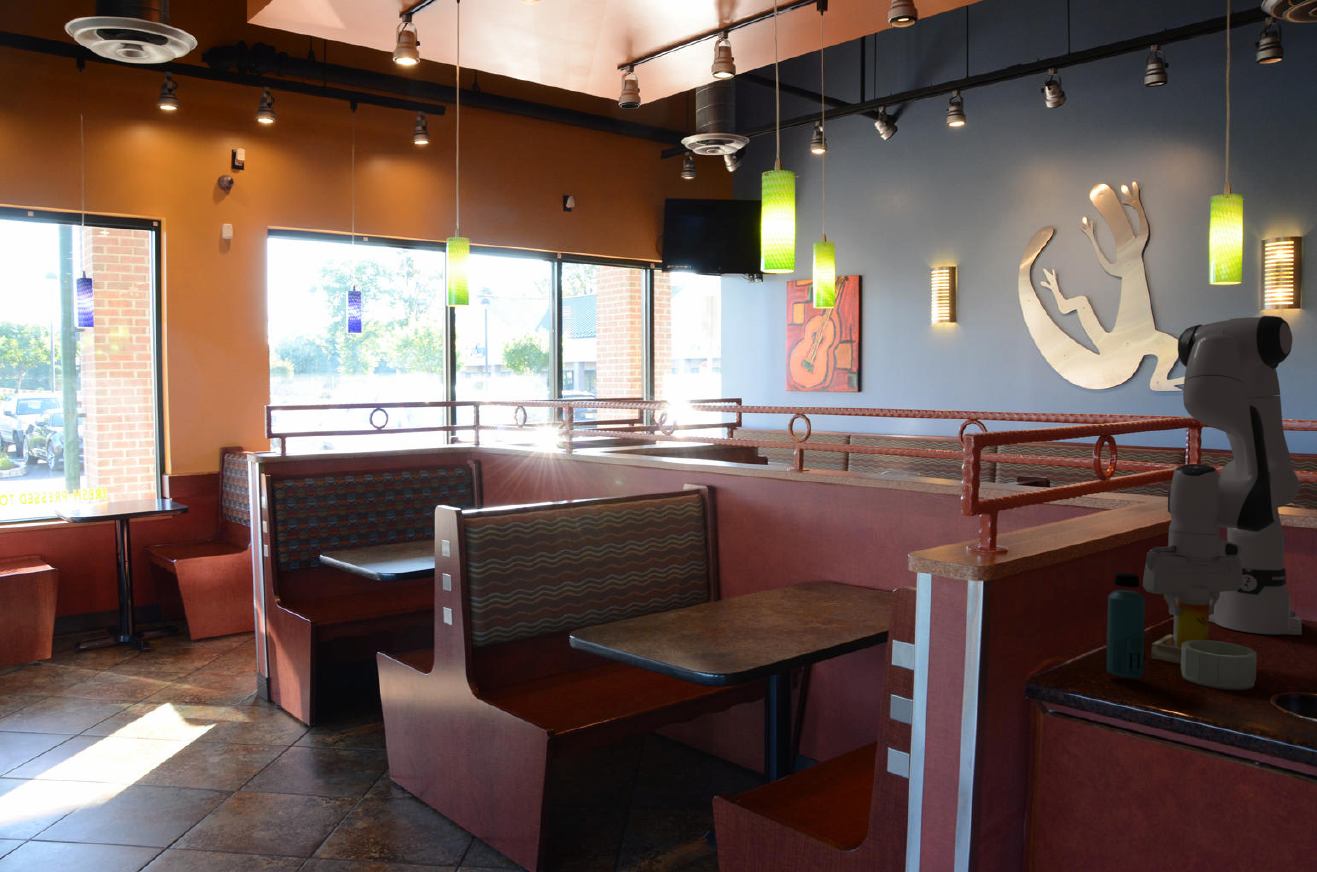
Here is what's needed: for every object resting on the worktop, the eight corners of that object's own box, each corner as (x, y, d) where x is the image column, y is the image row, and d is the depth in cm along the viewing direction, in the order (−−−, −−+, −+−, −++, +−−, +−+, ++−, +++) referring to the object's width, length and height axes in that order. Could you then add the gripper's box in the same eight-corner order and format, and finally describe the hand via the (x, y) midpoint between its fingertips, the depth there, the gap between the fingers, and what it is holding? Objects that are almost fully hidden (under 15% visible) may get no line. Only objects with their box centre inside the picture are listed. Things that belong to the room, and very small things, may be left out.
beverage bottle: (1129, 687, 168) (1132, 578, 167) (1096, 677, 174) (1099, 572, 173) (1152, 682, 171) (1155, 575, 170) (1119, 673, 177) (1122, 569, 176)
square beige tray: (1169, 648, 195) (1169, 631, 195) (1228, 658, 187) (1229, 641, 187) (1151, 658, 187) (1151, 640, 187) (1212, 670, 180) (1213, 651, 179)
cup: (1192, 667, 181) (1193, 636, 181) (1261, 680, 173) (1262, 648, 173) (1173, 679, 173) (1174, 647, 173) (1244, 694, 165) (1246, 660, 165)
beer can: (1212, 663, 184) (1214, 588, 183) (1178, 661, 185) (1181, 587, 184) (1201, 655, 190) (1203, 582, 189) (1168, 653, 191) (1170, 581, 190)
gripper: (1159, 549, 181) (1157, 619, 182) (1249, 546, 185) (1246, 615, 186) (1136, 544, 188) (1134, 612, 188) (1224, 542, 191) (1222, 608, 192)
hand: (1191, 613), depth 187 cm, fingers closed on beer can, 6 cm apart
